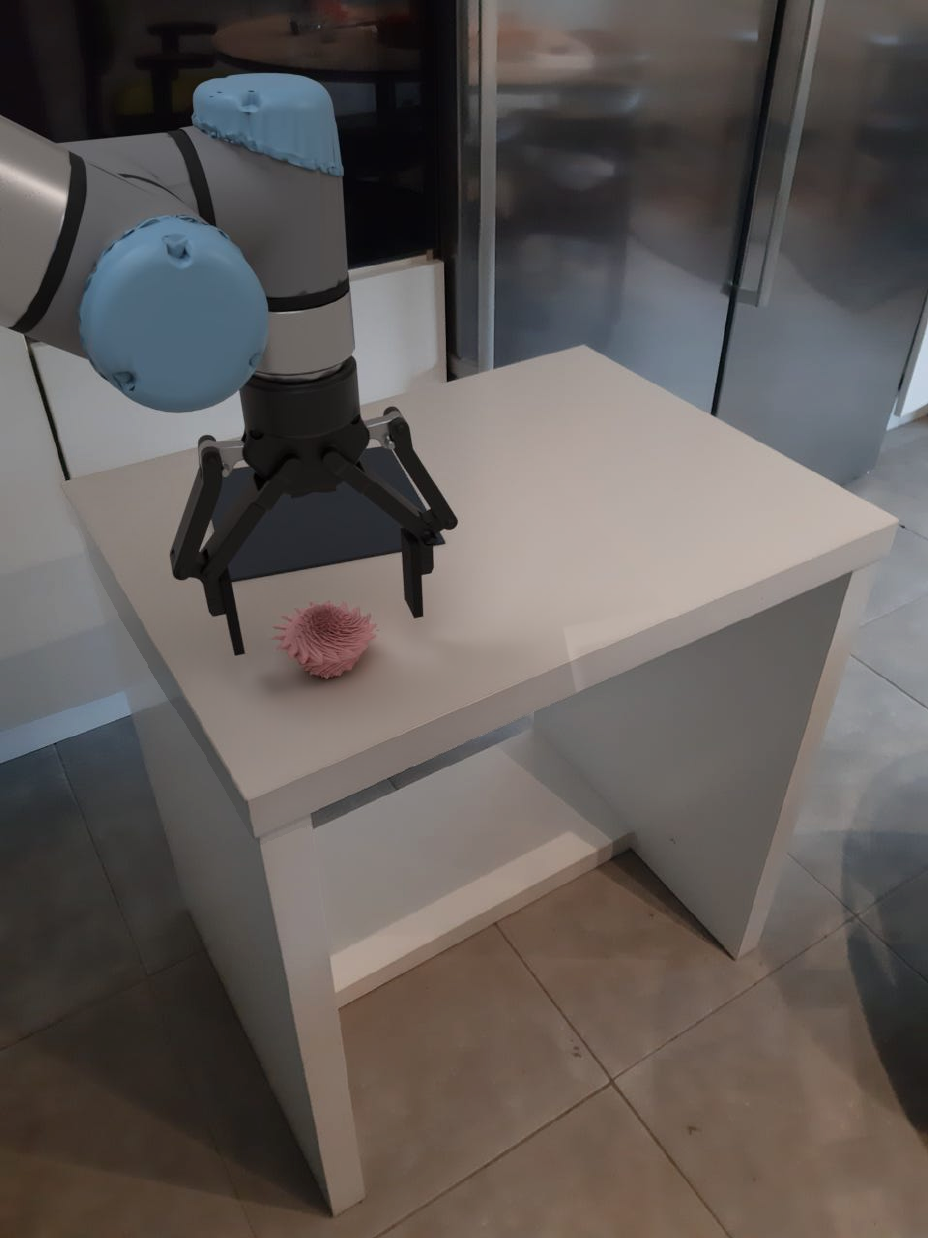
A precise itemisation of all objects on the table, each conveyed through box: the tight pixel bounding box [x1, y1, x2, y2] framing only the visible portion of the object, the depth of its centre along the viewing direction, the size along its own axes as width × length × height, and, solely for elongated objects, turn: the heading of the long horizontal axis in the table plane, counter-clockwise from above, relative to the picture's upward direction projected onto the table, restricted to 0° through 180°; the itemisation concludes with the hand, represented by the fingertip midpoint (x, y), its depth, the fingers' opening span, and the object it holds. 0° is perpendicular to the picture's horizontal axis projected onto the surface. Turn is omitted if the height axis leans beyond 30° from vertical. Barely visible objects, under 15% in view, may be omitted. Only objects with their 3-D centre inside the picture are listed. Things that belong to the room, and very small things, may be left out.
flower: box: [271, 599, 378, 680], centre depth 75 cm, size 8×8×6 cm
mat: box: [210, 445, 446, 583], centre depth 96 cm, size 20×20×1 cm
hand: (327, 625), depth 74 cm, fingers open, 13 cm apart
